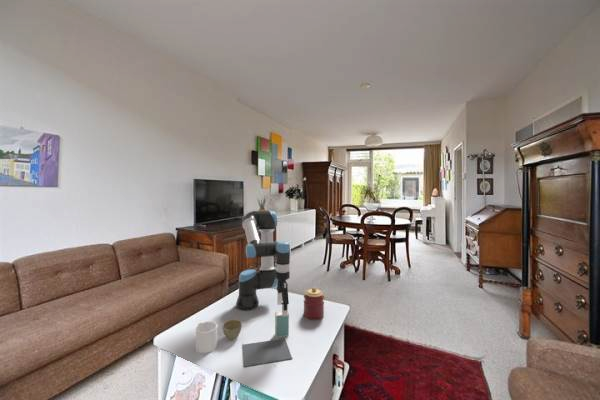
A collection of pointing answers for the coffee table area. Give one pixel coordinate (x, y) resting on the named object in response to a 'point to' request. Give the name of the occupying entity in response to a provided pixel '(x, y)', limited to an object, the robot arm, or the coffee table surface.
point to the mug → (206, 337)
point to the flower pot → (232, 329)
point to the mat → (265, 352)
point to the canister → (313, 304)
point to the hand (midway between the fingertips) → (282, 309)
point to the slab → (281, 325)
